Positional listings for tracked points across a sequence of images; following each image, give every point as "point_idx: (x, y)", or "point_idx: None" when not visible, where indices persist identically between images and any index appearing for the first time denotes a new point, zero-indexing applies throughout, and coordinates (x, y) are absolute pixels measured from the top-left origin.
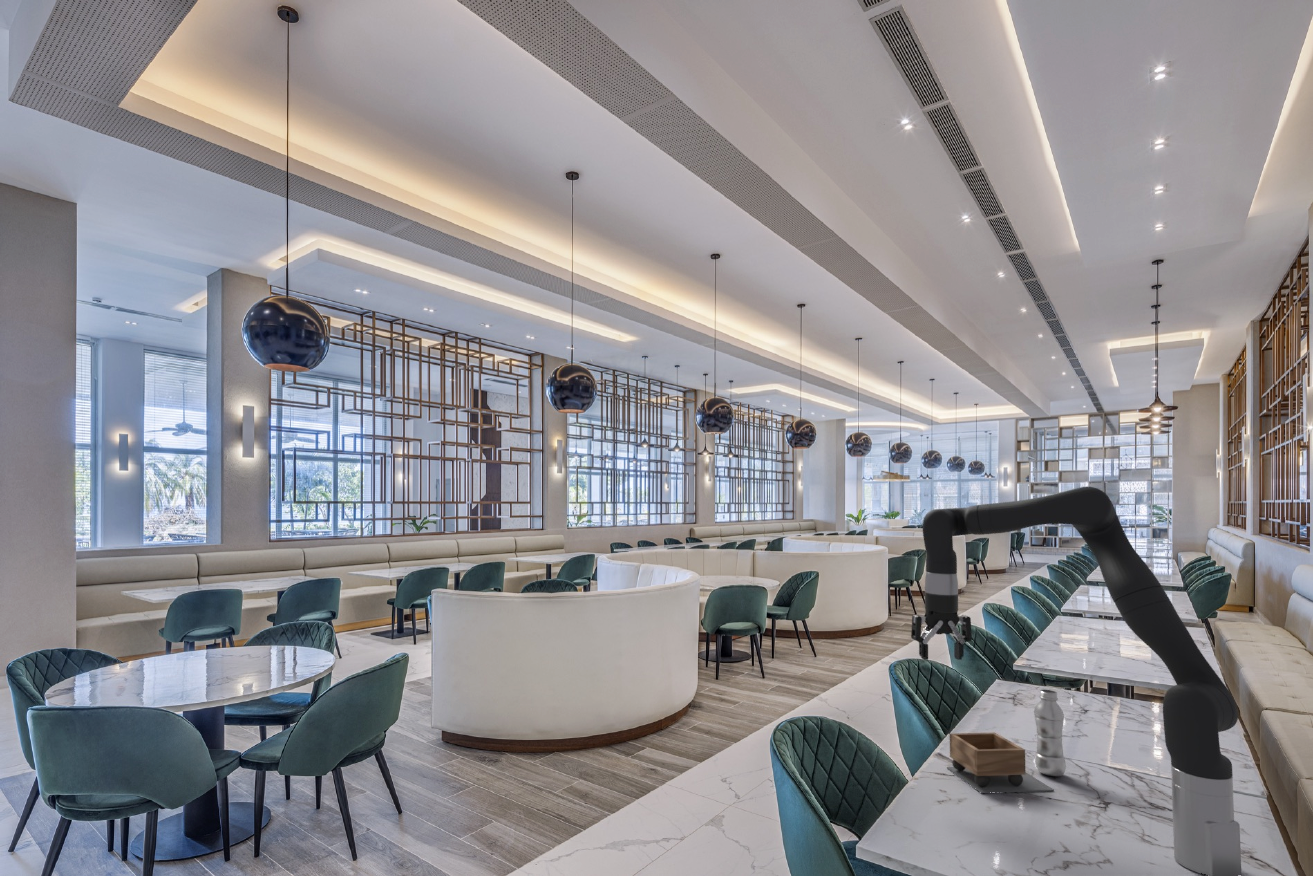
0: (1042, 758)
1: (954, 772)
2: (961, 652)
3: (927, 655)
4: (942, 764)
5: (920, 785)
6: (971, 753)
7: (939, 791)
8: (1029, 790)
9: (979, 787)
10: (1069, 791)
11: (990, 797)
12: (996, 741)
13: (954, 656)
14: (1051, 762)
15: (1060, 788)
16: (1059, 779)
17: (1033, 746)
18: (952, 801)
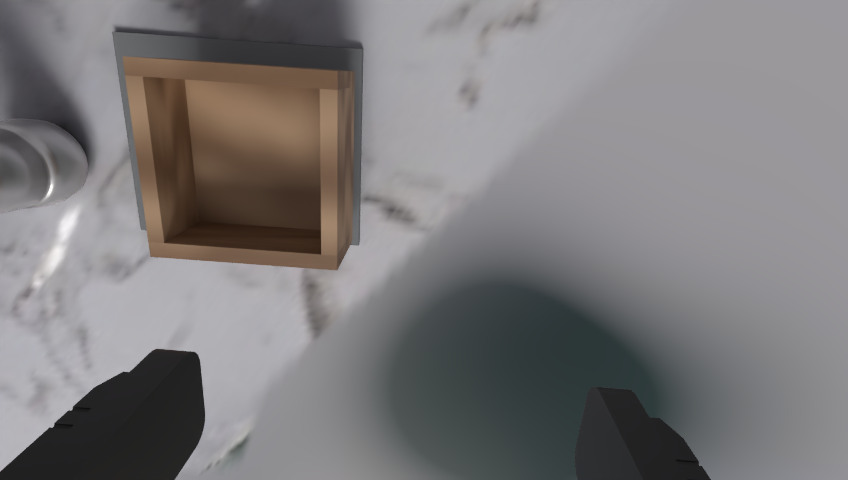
0: (49, 154)
1: (359, 203)
2: (105, 401)
3: (623, 414)
4: (353, 274)
5: (514, 142)
6: (342, 112)
7: (483, 90)
8: (196, 37)
9: None
10: (64, 26)
11: (347, 21)
12: (173, 218)
13: (197, 442)
14: (31, 129)
15: (81, 53)
16: (49, 119)
17: (7, 353)
18: (489, 10)
